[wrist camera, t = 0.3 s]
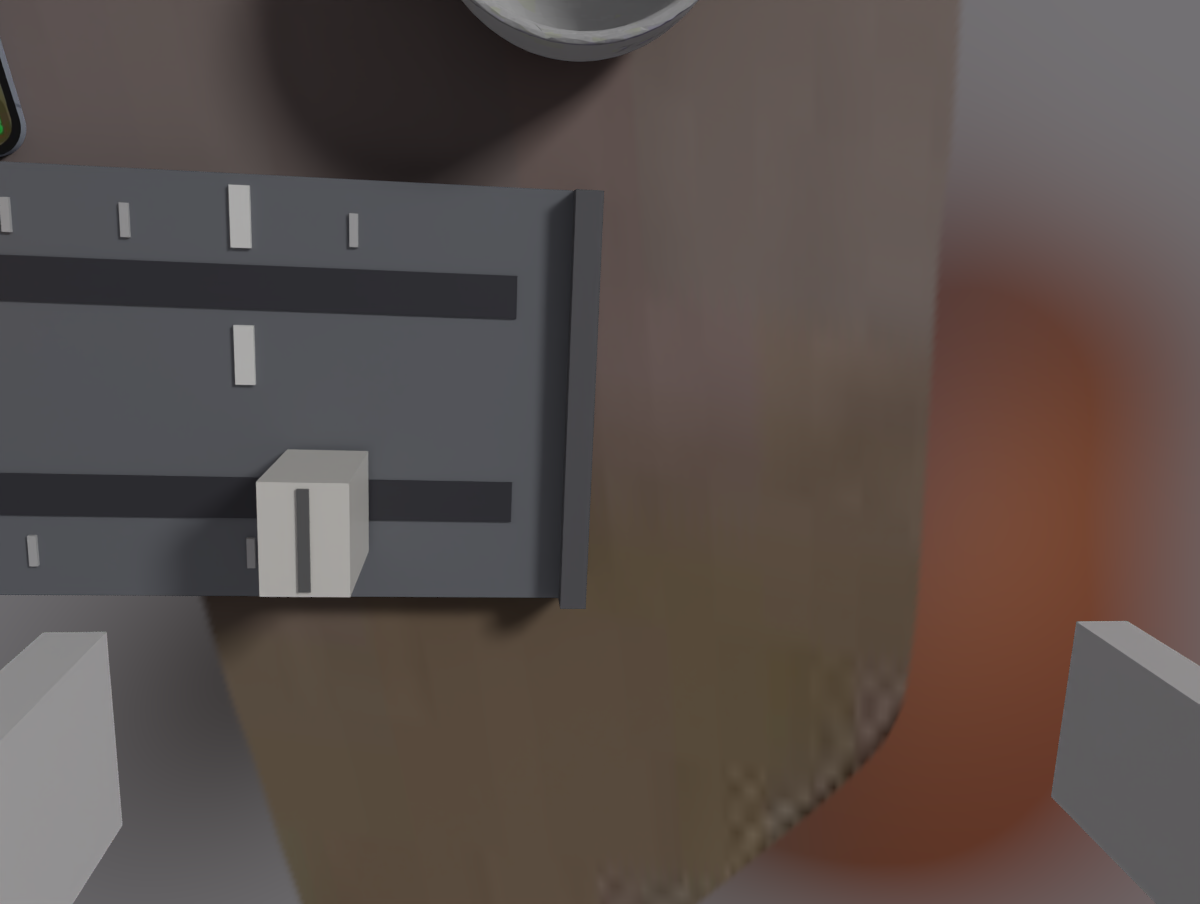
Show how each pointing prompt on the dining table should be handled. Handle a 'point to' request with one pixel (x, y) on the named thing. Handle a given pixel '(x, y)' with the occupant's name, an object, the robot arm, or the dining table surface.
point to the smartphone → (9, 111)
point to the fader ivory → (313, 523)
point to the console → (293, 376)
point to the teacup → (580, 24)
